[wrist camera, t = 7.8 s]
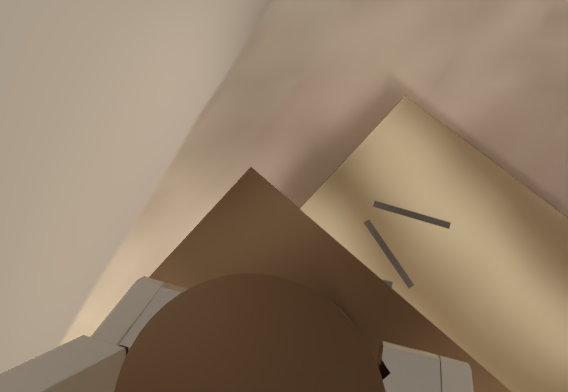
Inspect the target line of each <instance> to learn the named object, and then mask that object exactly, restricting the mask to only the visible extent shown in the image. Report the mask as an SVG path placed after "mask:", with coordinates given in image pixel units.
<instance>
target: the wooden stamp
mask: <svg viewBox="0 0 568 392" xmlns="http://www.w3.org/2000/svg"><path fill="white" fill-rule="evenodd" d="M149 278H152V279H155V280H159V281H162V282H166V283H170V284H174V285H177V286H180V287H184V288H187V290H186V291H184V292H182V293H180V294H179V295H177V296H176V297H175V298H173V299H172V300H171V301H169V302H168V303H167V304H165V305H164V306H163V307H162V308H161V309H160V310H159V311H158V312H157V313H156V314H155V315H154V316H153V317H152V318H151V319H150V320H149V321H148V323H147V324H146V325H145V326H144V328H143V329H142V330H141V331H140V333H139V334H138V336H137V338H136V339H135V341H134V342H133V344H132V346H131V347H130V349H129V351H128V354H127V356H126V358H125V360H124V362H123V364H122V367H121V370H120V373H119V376H118V379H117V382H116V387H115V391H114V392H386V391H385V387H384V384H383V380H382V377H381V373H380V371H379V368H378V366H377V364H376V363H377V355H378V351H379V348H380V345H381V343H382V341H385V342H389V343H393V344H397V345H401V346H405V347H409V348H413V349H417V350H421V351H425V352H429V353H432V354H436V355H437V356H443V357H447V358H451V359H455V360H458V361H462V362H466V363H468V364H469V365H470V367H471V371H472V381H473V391H474V392H512V391H510V390H509V389H508V388H507V387H506V386H505V385H503V384H502V383H501V382H500V381H499V380H498V379H497V378H495V377H494V376H493V375H492V374H491V373H490V372H488V371H487V370H486V369H485V368H484V367H483V366H481V365H480V364H479V363H478V362H477V361H476V360H474V359H473V358H472V357H471V356H470V355H469V354H468V353H466V352H465V351H464V350H463V349H462V348H461V347H459V346H458V345H457V344H456V343H455V342H454V341H452V340H451V339H450V338H449V337H448V336H447V335H445V334H444V333H443V332H442V331H441V330H440V329H438V328H437V327H436V326H435V325H434V324H433V323H432V322H430V321H429V320H428V319H427V318H426V317H425V316H423V315H422V314H421V313H420V312H419V311H418V310H416V309H415V308H414V307H413V306H412V305H411V304H409V303H408V302H407V301H406V300H405V299H404V298H403V297H401V296H400V295H399V294H398V293H397V292H396V291H394V290H393V289H392V288H391V287H390V286H389V285H387V284H386V283H385V282H384V281H383V280H382V279H380V278H379V277H378V276H377V275H376V274H375V273H373V272H372V271H371V270H370V269H369V268H368V267H367V266H365V265H364V264H363V263H362V262H361V261H360V260H358V259H357V258H356V257H355V256H354V255H353V254H351V253H350V252H349V251H348V250H347V249H346V248H344V247H343V246H342V245H341V244H340V243H339V242H337V241H336V240H335V239H334V238H333V237H332V236H331V235H329V234H328V233H327V232H326V231H325V230H324V229H322V228H321V227H320V226H319V225H318V224H317V223H315V222H314V221H313V220H312V219H311V218H310V217H308V216H307V215H306V214H305V213H304V212H303V211H302V210H300V209H299V208H298V207H297V206H296V205H295V204H293V203H292V202H291V201H290V200H289V199H288V198H286V197H285V196H284V195H283V194H282V193H281V192H279V191H278V190H277V189H276V188H275V187H274V186H272V185H271V184H270V183H269V182H268V181H267V180H266V179H264V178H263V177H262V176H261V175H260V174H259V173H257V172H256V171H255V170H254V169H253V168H252V167H251V168H250V169H249V170H248V171H247V172H246V173H245V174H244V175H243V176H242V177H241V178H240V179H239V180H238V182H237V183H236V184H235V185H234V186H233V187H232V188H231V189H230V190H229V191H228V192H227V193H226V195H225V196H224V197H223V198H222V199H221V200H220V201H219V202H218V203H217V204H216V205H215V206H214V208H213V209H212V210H211V211H210V212H209V213H208V214H207V215H206V216H205V217H204V218H203V219H202V221H201V222H200V223H199V224H198V225H197V226H196V227H195V228H194V229H193V230H192V231H191V232H190V233H189V235H188V236H187V237H186V238H185V239H184V240H183V241H182V242H181V243H180V244H179V245H178V246H177V248H176V249H175V250H174V251H173V252H172V253H171V254H170V255H169V256H168V257H167V258H166V259H165V261H164V262H163V263H162V264H161V265H160V266H159V267H158V268H157V269H156V270H155V271H154V272H153V274H152V275H151V276H150V277H149Z"/></svg>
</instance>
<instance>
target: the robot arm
mask: <svg viewBox="0 0 568 392" xmlns="http://www.w3.org/2000/svg"><path fill="white" fill-rule="evenodd" d="M186 290H187V288H184V287H180V286H177V285H174V284H170V283H166V282H162V281H159V280H155V279H152V278H148V277H145V276H144V277H142V278H140V279H139V280H137V281H136V282H135V283H134V284H133V286H132V287H131V288H130V289H129V290H128V292H127V293H126V294H125V295H124V297H123V298H122V299H121V300H120V302H119V303H118V304H117V305H116V306H115V308H114V309H113V310H112V311H111V313H110V314H109V315H108V316H107V317H106V319H105V320H104V321H103V322H102V324H101V325H100V326H99V327H98V329H97V330H96V331H95V332H94V333H93V335H92V336H91V337H88V336H85V335H83V336H81V337H78V338H76V339H74V340H72V341H70V342H68V343H66V344H63V345H61V346H59V347H57V348H55V349H53V350H51V351H49V352H46V353H44V354H42V355H40V356H38V357H36V358H34V359H31V360H29V361H27V362H25V363H23V364H21V365H19V366H17V367H15V368H12V369H10V370H8V371H6V372H4V373H2V374H0V392H114V391H115V387H116V382H117V379H118V376H119V373H120V370H121V367H122V364H123V362H124V360H125V358H126V356H127V354H128V351H129V349H130V347H131V346H132V344H133V342H134V341H135V339H136V338H137V336H138V334H139V333H140V331H141V330H142V329H143V328H144V326H145V325H146V324H147V323H148V321H149V320H150V319H151V318H152V317H153V316H154V315H155V314H156V313H157V312H158V311H159V310H160V309H161V308H162V307H163V306H164V305H165V304H167V303H168V302H169V301H171V300H172V299H173V298H175V297H176V296H177V295H179V294H180V293H182V292H184V291H186ZM376 364H377V366H378V368H379V371H380V373H381V377H382V380H383V384H384V387H385V391H386V392H474V391H473V381H472V371H471V367H470V365H469V364H468V363H466V362H462V361H458V360H455V359H451V358H447V357H443V356H437V355H436V354H432V353H429V352H425V351H421V350H417V349H413V348H409V347H405V346H401V345H397V344H393V343H389V342H385V341H382V343H381V345H380V348H379V351H378V355H377V363H376Z"/></svg>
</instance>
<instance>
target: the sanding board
mask: <svg viewBox="0 0 568 392" xmlns="http://www.w3.org/2000/svg"><path fill="white" fill-rule="evenodd" d="M300 210H302V211H303V212H304V213H305V214H306V215H307V216H308V217H310V218H311V219H312V220H313V221H314V222H315V223H317V224H318V225H319V226H320V227H321V228H322V229H324V230H325V231H326V232H327V233H328V234H329V235H331V236H332V237H333V238H334V239H335V240H336V241H337V242H339V243H340V244H341V245H342V246H343V247H344V248H346V249H347V250H348V251H349V252H350V253H351V254H353V255H354V256H355V257H356V258H357V259H358V260H360V261H361V262H362V263H363V264H364V265H365V266H367V267H368V268H369V269H370V270H371V271H372V272H373V273H375V274H376V275H377V276H378V277H379V278H380V279H382V280H383V281H384V282H385V283H386V284H387V285H389V286H390V287H391V288H392V289H393V290H394V291H396V292H397V293H398V294H399V295H400V296H401V297H403V298H404V299H405V300H406V301H407V302H408V303H409V304H411V305H412V306H413V307H414V308H415V309H416V310H418V311H419V312H420V313H421V314H422V315H423V316H425V317H426V318H427V319H428V320H429V321H430V322H432V323H433V324H434V325H435V326H436V327H437V328H438V329H440V330H441V331H442V332H443V333H444V334H445V335H447V336H448V337H449V338H450V339H451V340H452V341H454V342H455V343H456V344H457V345H458V346H459V347H461V348H462V349H463V350H464V351H465V352H466V353H468V354H469V355H470V356H471V357H472V358H473V359H474V360H476V361H477V362H478V363H479V364H480V365H481V366H483V367H484V368H485V369H486V370H487V371H488V372H490V373H491V374H492V375H493V376H494V377H495V378H497V379H498V380H499V381H500V382H501V383H502V384H503V385H505V386H506V387H507V388H508V389H509V390H510V391H512V392H568V218H567V217H565V216H564V215H563V214H562V213H560V212H559V211H558V210H556V209H555V208H554V207H552V206H551V205H550V204H548V203H547V202H546V201H544V200H543V199H542V198H540V197H539V196H538V195H536V194H535V193H534V192H532V191H531V190H530V189H528V188H527V187H526V186H524V185H523V184H522V183H520V182H519V181H518V180H517V179H515V178H514V177H513V176H511V175H510V174H509V173H507V172H506V171H505V170H503V169H502V168H501V167H499V166H498V165H497V164H495V163H494V162H493V161H491V160H490V159H489V158H487V157H486V156H485V155H483V154H482V153H481V152H479V151H478V150H477V149H476V148H474V147H473V146H472V145H470V144H469V143H468V142H466V141H465V140H464V139H462V138H461V137H460V136H458V135H457V134H456V133H454V132H453V131H452V130H450V129H449V128H448V127H446V126H445V125H444V124H442V123H441V122H440V121H438V120H437V119H436V118H434V117H433V116H432V115H431V114H429V113H428V112H427V111H425V110H424V109H423V108H421V107H420V106H419V105H417V104H416V103H415V102H413V101H412V100H411V99H409V98H408V97H407V96H405V97H404V98H403V99H402V100H401V101H400V102H399V103H398V104H397V105H396V106H395V107H394V108H393V110H392V111H391V112H390V113H389V114H388V115H387V116H386V117H385V118H384V119H383V120H382V121H381V122H380V123H379V125H378V126H377V127H376V128H375V129H374V130H373V131H372V132H371V133H370V134H369V135H368V136H367V137H366V138H365V140H364V141H363V142H362V143H361V144H360V145H359V146H358V147H357V148H356V149H355V150H354V151H353V152H352V153H351V155H350V156H349V157H348V158H347V159H346V160H345V161H344V162H343V163H342V164H341V165H340V166H339V167H338V168H337V169H336V171H335V172H334V173H333V174H332V175H331V176H330V177H329V178H328V179H327V180H326V181H325V182H324V183H323V184H322V186H321V187H320V188H319V189H318V190H317V191H316V192H315V193H314V194H313V195H312V196H311V197H310V198H309V199H308V201H307V202H306V203H305V204H304V205H303V206H302V207H301V208H300Z"/></svg>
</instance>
